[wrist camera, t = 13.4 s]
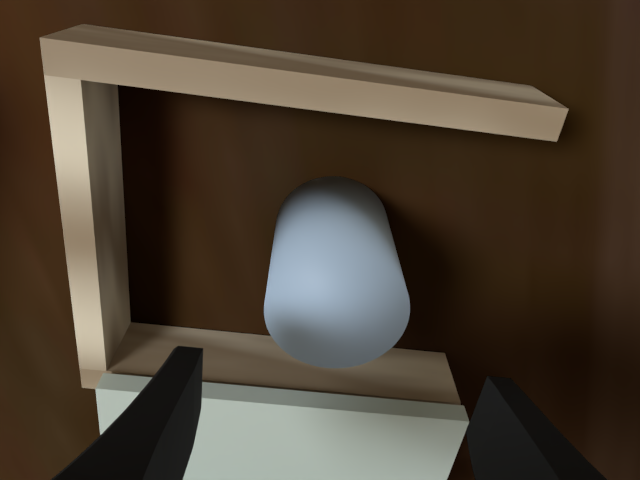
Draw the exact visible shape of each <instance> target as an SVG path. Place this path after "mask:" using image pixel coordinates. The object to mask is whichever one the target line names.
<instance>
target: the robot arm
mask: <svg viewBox="0 0 640 480" xmlns="http://www.w3.org/2000/svg"><path fill="white" fill-rule="evenodd" d="M202 371H203V348H196V347H186V346H177V347H176V348H174V349H173V351H172V352H171V354H170V355H169V356H168V358H167V359H166V361H165V362H164V363H163V365H162V366H161V367H160V369H159V370H158V371H157V373H156V374H155V375H154V376H153V378H152V379H151V380H150V381H149V383H148V384H147V385H146V386H145V387H144V389H143V390H142V391H141V392H140V393H139V394H138V395H137V397H136V398H135V399H134V400H133V401H132V402H131V404H130V405H129V406H128V407H127V408H126V409H125V410H124V411H123V413H122V414H121V415H120V416H119V417H118V418H117V419H116V420H115V421H114V422H113V423H112V424H111V425H110V426H109V427H108V428H107V429H106V430H105V431H104V432H103V433H102V434H101V435H100V436H99V437H98V438H97V439H96V440H95V441H94V442H93V443H92V444H91V445H90V446H89V447H88V448H87V449H86V450H85V451H84V452H82V453H81V454H80V455H79V456H78V457H77V458H76V459H75V460H74V461H72V462H71V463H70V464H69V465H68V466H67V467H66V468H64V469H63V470H62V471H61V472H60V473H58V474H57V475H56V476H55V477H54V478H52V479H51V480H183V477H184V474H185V471H186V468H187V465H188V462H189V459H190V456H191V452H192V449H193V445H194V441H195V436H196V431H197V427H198V422H199V417H200V412H201V402H202ZM466 435H467V441H468V447H469V453H470V458H471V463H472V468H473V473H474V476H475V479H476V480H607V479H606V478H605V477H604V476H603V475H602V474H601V473H600V472H599V471H598V470H597V469H595V468H594V467H593V466H592V465H591V464H590V463H589V462H588V461H587V460H586V459H585V458H584V457H583V456H582V455H581V454H580V453H579V452H578V451H577V450H576V448H575V447H574V446H573V445H572V444H571V443H570V442H569V441H568V440H567V439H566V438H565V437H564V436H563V435H562V434H561V433H560V432H559V431H558V429H557V428H556V427H555V426H554V425H553V424H552V423H551V422H550V421H549V420H548V419H547V417H546V416H545V415H544V414H543V413H542V412H541V411H540V410H539V409H538V407H537V406H536V405H535V404H534V403H533V402H532V401H531V400H530V399H529V398H528V396H527V395H526V394H525V393H524V392H523V391H522V390H521V389H520V388H519V387H518V386H517V384H516V383H515V382H514V381H513V380H512V379H511V378H502V377H492V376H487V378H486V381H485V383H484V386H483V389H482V391H481V394H480V397H479V399H478V402H477V404H476V407H475V410H474V412H473V415H472V417H471V420H470V423H469V425H468V428H467V431H466Z"/></svg>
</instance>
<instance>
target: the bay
mask: <svg viewBox="0 0 640 480" xmlns="http://www.w3.org/2000/svg"><path fill="white" fill-rule="evenodd" d="M40 45H41V53H42V61H43V69H44V78H45V86H46V94H47V102H48V111H49V119H50V127H51V135H52V144H53V152H54V160H55V169H56V177H57V185H58V193H59V202H60V210H61V218H62V226H63V235H64V243H65V251H66V259H67V268H68V276H69V284H70V292H71V301H72V309H73V317H74V325H75V334H76V342H77V350H78V358H79V367H80V375H81V383H82V388H91V389H95V388H96V386H97V384H98V382H99V381H100V379H101V377H102V375H103V373H110V374H121V375H132V376H143V377H153V376H154V375H155V374H156V373H157V371H158V370H159V369H160V367H161V366H162V365H163V363H164V362H165V361H166V359H167V358H168V356H169V355H170V354H171V352H172V351H173V349H174V348H176V347H177V346H186V347H196V348H203V371H202V382H209V383H220V384H231V385H242V386H253V387H264V388H275V389H286V390H297V391H308V392H319V393H330V394H341V395H352V396H363V397H374V398H385V399H396V400H407V401H418V402H429V403H440V404H451V405H461V402H460V399H459V396H458V393H457V389H456V386H455V383H454V380H453V377H452V374H451V371H450V368H449V365H448V362H447V359H446V355H445V353H440V352H429V351H419V350H409V349H399V348H391V349H389V350H388V351H387V352H386V353H384V354H383V355H381V356H380V357H378V358H376V359H374V360H372V361H370V362H367V363H365V364H362V365H358V366H354V367H348V368H323V367H317V366H313V365H309V364H307V363H304V362H301V361H299V360H297V359H295V358H293V357H292V356H290V355H289V354H287V353H286V352H285V351H284V350H282V349H281V348H280V347H279V346H278V345H277V343H276V342H275V341H274V340H273V338H272V337H271V336H266V335H256V334H246V333H235V332H225V331H215V330H205V329H195V328H184V327H174V326H164V325H154V324H144V323H133V322H131V318H130V300H129V282H128V264H127V245H126V227H125V209H124V191H123V173H122V154H121V136H120V118H119V100H118V85H124V86H132V87H140V88H147V89H155V90H163V91H170V92H178V93H186V94H193V95H201V96H209V97H216V98H224V99H232V100H240V101H247V102H255V103H263V104H270V105H278V106H286V107H293V108H301V109H309V110H317V111H324V112H332V113H340V114H347V115H355V116H363V117H370V118H378V119H386V120H393V121H401V122H409V123H417V124H424V125H432V126H440V127H447V128H455V129H463V130H470V131H478V132H486V133H494V134H501V135H509V136H517V137H524V138H532V139H540V140H547V141H555V142H557V140H558V137H559V134H560V132H561V129H562V126H563V123H564V121H565V118H566V115H567V112H568V110H569V109H568V108H567V107H565V106H563V105H562V104H560V103H558V102H557V101H555V100H554V99H552V98H550V97H549V96H547V95H545V94H544V93H542V92H541V91H539V90H537V89H536V88H534V87H532V86H529V85H522V84H515V83H507V82H500V81H493V80H486V79H478V78H471V77H464V76H456V75H449V74H442V73H435V72H427V71H420V70H413V69H406V68H398V67H391V66H384V65H376V64H369V63H362V62H355V61H347V60H340V59H333V58H326V57H318V56H311V55H304V54H296V53H289V52H282V51H275V50H267V49H260V48H253V47H246V46H238V45H231V44H224V43H216V42H209V41H202V40H195V39H187V38H180V37H173V36H166V35H158V34H151V33H144V32H136V31H129V30H122V29H115V28H107V27H100V26H93V25H86V24H82V25H79V26H75V27H72V28H69V29H66V30H62V31H59V32H56V33H53V34H49V35H46V36H43V37H40Z"/></svg>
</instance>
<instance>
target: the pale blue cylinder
mask: <svg viewBox="0 0 640 480" xmlns="http://www.w3.org/2000/svg"><path fill="white" fill-rule="evenodd" d="M409 316H410V300H409V295H408V292H407V288H406V284H405V281H404V277H403V273H402V270H401V266H400V262H399V259H398V255H397V251H396V248H395V244H394V240H393V237H392V233H391V229H390V226H389V222H388V218H387V215H386V211H385V208H384V206H383V204H382V202H381V201H380V199H379V198H378V197H377V195H376V194H375V193H374V192H373V191H372V190H370V189H369V188H368V187H367V186H365V185H363V184H362V183H360V182H357V181H355V180H352V179H349V178H345V177H337V176H328V177H321V178H316V179H313V180H310V181H308V182H306V183H304V184H302V185H300V186H299V187H297V188H296V189H295V190H293V191H292V192H291V193H290V194H289V195H288V196H287V197H286V199H285V200H284V202H283V203H282V205H281V207H280V209H279V212H278V215H277V220H276V227H275V234H274V241H273V248H272V255H271V262H270V268H269V275H268V282H267V289H266V296H265V303H264V317H265V323H266V326H267V329H268V331H269V333H270V335H271V337H272V338H273V340H274V341H275V342H276V343H277V345H278V346H279V347H280V348H281V349H282V350H284V351H285V352H286V353H287V354H289V355H290V356H292V357H293V358H295V359H297V360H299V361H301V362H304V363H307V364H309V365H313V366H317V367H323V368H348V367H354V366H358V365H362V364H365V363H367V362H370V361H372V360H374V359H376V358H378V357H380V356H381V355H383V354H384V353H386V352H387V351H388V350H389V349H391V348H392V347H393V346H394V345H395V344H396V343H397V342H398V340H399V339H400V337H401V336H402V335H403V333H404V331H405V329H406V326H407V324H408V321H409Z"/></svg>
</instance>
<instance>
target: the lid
mask: <svg viewBox="0 0 640 480" xmlns="http://www.w3.org/2000/svg"><path fill="white" fill-rule="evenodd" d="M152 378H153V377H143V376H132V375H121V374H110V373H103V375H102V377H101V379H100V381H99V382H98V384H97V386H96V388H95V389H96V399H97V408H98V418H99V427H100V435H101V434H102V433H103V432H104V431H105V430H106V429H107V428H108V427H109V426H110V425H111V424H112V423H113V422H114V421H115V420H116V419H117V418H118V417H119V416H120V415H121V414H122V413H123V411H124V410H125V409H126V408H127V407H128V406H129V405H130V404H131V402H132V401H133V400H134V399H135V398H136V397H137V395H138V394H139V393H140V392H141V391H142V390H143V389H144V387H145V386H146V385H147V384H148V383H149V381H150V380H151V379H152ZM468 424H469V419H468V416H467V413H466V410H465V407H464V406H462V405H451V404H440V403H429V402H418V401H407V400H396V399H385V398H374V397H363V396H352V395H341V394H330V393H319V392H308V391H297V390H286V389H275V388H264V387H253V386H242V385H231V384H220V383H209V382H202V402H201V412H200V417H199V422H198V427H197V431H196V436H195V441H194V445H193V449H192V452H191V456H190V459H189V462H188V465H187V468H186V471H185V474H184V477H183V480H447V478H448V476H449V473H450V471H451V468H452V465H453V463H454V460H455V458H456V455H457V452H458V450H459V447H460V445H461V442H462V439H463V437H464V434H465V432H466V429H467V426H468Z"/></svg>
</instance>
